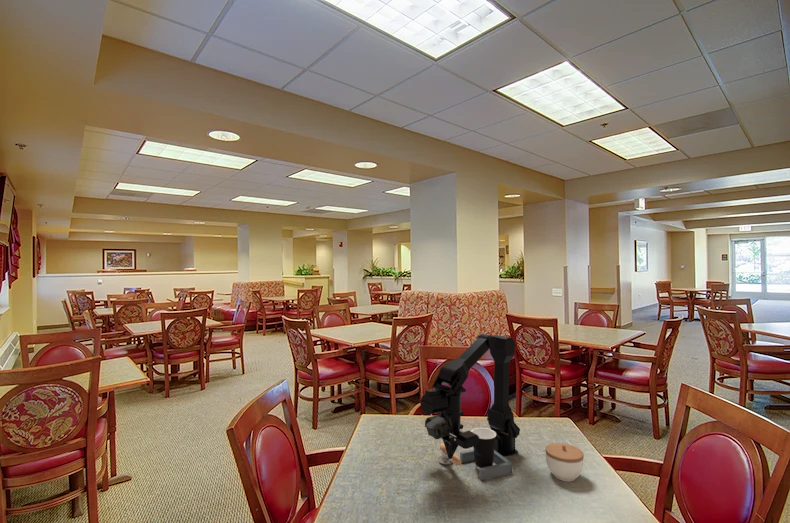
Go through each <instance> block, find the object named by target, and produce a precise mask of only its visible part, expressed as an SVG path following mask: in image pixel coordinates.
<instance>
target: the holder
mask: <svg viewBox="0 0 790 523" xmlns="http://www.w3.org/2000/svg"><path fill="white" fill-rule="evenodd" d="M459 453H460V454H459V455H460V458H459V459H460V460H461V464H462V463H468V462H469V463H470V462H475V457H474V448H473V449H469V450H468V449H467V450H463V451H460V452H459ZM493 463H494V464H493V466H488V467H483V468H479V470H478V479H479V480H480V481H485V480H489V479H493V478H498V477H502V476H507V475H513V463H512V462H511V461H510V460H508V459H507V458H506V457H505V456H502V455H500V454H499V453H498V452H496V451H495V450H494V457H493Z"/></svg>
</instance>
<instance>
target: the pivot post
mask: <svg viewBox="0 0 790 523" xmlns="http://www.w3.org/2000/svg"><path fill="white" fill-rule="evenodd" d="M437 462H438V463H439V464H440V465H443V466H444V465H445V466H449V465H452V464H453V463H454V462H453V461H452V460H451V459H449V458H448V455H447V453H446V452H445V451H442V450H441V456H438V457H437Z"/></svg>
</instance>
